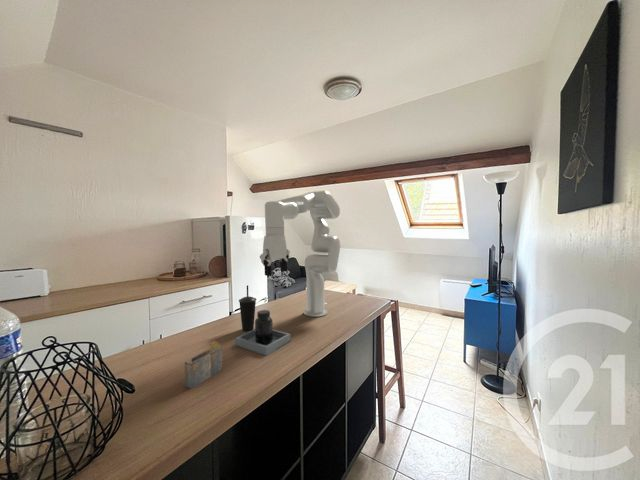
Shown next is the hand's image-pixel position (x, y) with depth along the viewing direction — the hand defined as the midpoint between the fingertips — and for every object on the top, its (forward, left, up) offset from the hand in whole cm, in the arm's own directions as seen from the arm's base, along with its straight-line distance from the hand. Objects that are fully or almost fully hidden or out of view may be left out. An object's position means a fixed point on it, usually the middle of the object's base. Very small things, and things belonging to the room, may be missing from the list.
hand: (276, 273), depth 108 cm
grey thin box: (+34, 0, -28) cm, 44 cm away
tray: (+7, -1, -27) cm, 28 cm away
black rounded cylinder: (0, -17, -27) cm, 32 cm away
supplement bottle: (+7, -1, -27) cm, 27 cm away
